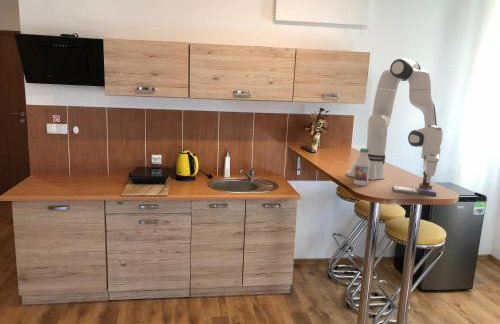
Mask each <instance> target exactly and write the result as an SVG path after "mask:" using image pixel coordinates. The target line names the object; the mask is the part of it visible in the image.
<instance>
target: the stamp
mask: <svg viewBox="0 0 500 324" xmlns="http://www.w3.org/2000/svg"><path fill="white" fill-rule="evenodd" d="M422 175H423V177H422V182H420V183H419V185H418V190H419V189H420V188H422V189H431V190H433V184H431V182H430V183H427V182H426V179H427V175H426V173H425V171H424V170H423V173H422Z"/></svg>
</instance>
